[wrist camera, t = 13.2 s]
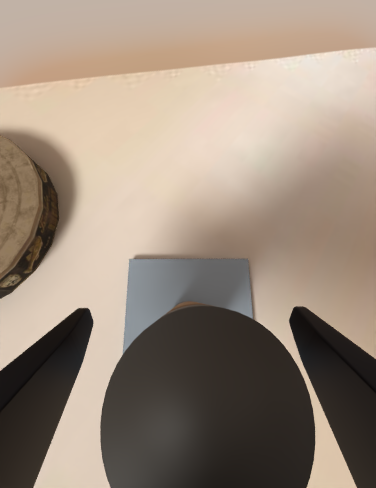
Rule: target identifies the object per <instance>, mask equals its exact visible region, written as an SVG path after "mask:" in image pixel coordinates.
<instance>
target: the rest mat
mask: <svg viewBox="0 0 376 488" xmlns="http://www.w3.org/2000/svg"><path fill="white" fill-rule="evenodd" d="M186 301H193V302H198V303H202V304H207V305H212V306H217V307H221V308H226V309H229V310H233V311H236V312H239V313H241V314H243V315H246V316H248V317H250V318H252V319H253V313H252V301H251V289H250V276H249V264H248V259H129V272H128V287H127V301H126V316H125V331H124V345H123V354H124V352H125V351H126V349H127V348H128V347H129V346H130V344H131V343H132V342H133V341H134V339H135V338H137V337H138V336H139V335H140V334H141V333H142V332H143V331H144V330H145V329H146V328H148V327H149V326H150V325H151V324H153V323H154V322H155V321H157V320H158V319H159V318H161V317H162V316H163V315H165V314H166V313H167V312H169V311H170V310H171V309H172V308H174V307H175V306H176V305H178V304H180V303H182V302H186Z"/></svg>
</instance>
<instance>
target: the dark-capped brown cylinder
mask: <svg viewBox="0 0 376 488" xmlns="http://www.w3.org/2000/svg"><path fill="white" fill-rule="evenodd" d="M101 450H102V458H103V463H104V467H105V472H106V476H107V479H108V482H109V484H110V487H111V488H306V487H307V484H308V482H309V479H310V475H311V470H312V465H313V461H314V451H315V423H314V414H313V408H312V404H311V400H310V395H309V392H308V389H307V386H306V384H305V381H304V378H303V376H302V374H301V372H300V370H299V368H298V366H297V364H296V363H295V361H294V359H293V358H292V356H291V354H290V353H289V352H288V350H287V349H286V348H285V347H284V345H283V344H282V343H281V342H280V341H279V340H278V339H277V338H276V337H275V336H274V335H273V334H272V333H271V332H270V331H269V330H268V329H266V328H265V327H264V326H263V325H261V324H260V323H258V322H257V321H255V320H253V319H252V318H250V317H248V316H246V315H243V314H241V313H239V312H236V311H233V310H229V309H226V308H221V307H217V306H212V305H207V304H202V303H198V302H193V301H186V302H182V303H180V304H178V305H176V306H175V307H174V308H172V309H171V310H170V311H169V312H167V313H166V314H165V315H163V316H162V317H161V318H159V319H158V320H157V321H155V322H154V323H153V324H151V325H150V326H149V327H148V328H146V329H145V330H144V331H143V332H142V333H141V334H140V335H139V336H138V337H137V338H135V339H134V341H133V342H132V343H131V344H130V346H129V347H128V348H127V349H126V351H125V352H124V354H123V355H122V357H121V359H120V360H119V362H118V363H117V365H116V368H115V370H114V372H113V374H112V376H111V379H110V381H109V384H108V387H107V390H106V394H105V398H104V403H103V407H102V416H101Z"/></svg>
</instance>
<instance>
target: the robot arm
mask: <svg viewBox="0 0 376 488" xmlns="http://www.w3.org/2000/svg"><path fill="white" fill-rule="evenodd" d="M289 323H290V327H291V330H292V333H293V336H294V339H295V342H296V345H297V348H298V352H299V355H300V357H301V360H302V362H303V365H304V367H305V370H306V372H307V374H308V376H309V379H310V381H311V383H312V386H313V388H314V390H315V392H316V395H317V397H318V399H319V402H320V404H321V406H322V408H323V411H324V413H325V415H326V418H327V420H328V422H329V424H330V427H331V429H332V431H333V434H334V436H335V438H336V441H337V443H338V445H339V447H340V450H341V452H342V454H343V457H344V459H345V461H346V463H347V466H348V468H349V470H350V473H351V475H352V477H353V479H354V482H355V484H356V486H357V488H376V359H375V358H373V357H372V356H371V355H369V354H368V353H367V352H365V351H364V350H363V349H361V348H360V347H358V346H357V345H356V344H354V343H353V342H352V341H350V340H349V339H348V338H346V337H345V336H344V335H342V334H341V333H340V332H338V331H337V330H336V329H334V328H333V327H331V326H330V325H329V324H327V323H326V322H325V321H323V320H322V319H321V318H319V317H318V316H317V315H315V314H314V313H313V312H311V311H310V310H309V309H307V308H306V307H303V306H296V307H294V308H293V311H292V313H291V316H290V319H289ZM92 327H93V319H92V316H91V313H90V310H89V309H88V308H78V309H77V310H75V311H74V312H73V313H72V314H70V315H69V316H68V317H67V318H65V319H64V320H63V321H62V322H61V323H59V324H58V325H57V326H56V327H54V328H53V329H52V330H51V331H49V332H48V333H47V334H46V335H44V336H43V337H42V338H41V339H39V340H38V341H37V342H36V343H34V344H33V345H32V346H31V347H29V348H28V349H27V350H26V351H24V352H23V353H22V354H21V355H19V356H18V357H17V358H16V359H14V360H13V361H12V362H11V363H10V364H8V365H7V366H6V367H5V368H3V369H2V370H1V371H0V488H33V487H34V484H35V482H36V479H37V477H38V474H39V472H40V469H41V467H42V464H43V461H44V459H45V456H46V454H47V451H48V449H49V446H50V444H51V441H52V439H53V436H54V434H55V431H56V428H57V426H58V423H59V421H60V418H61V416H62V413H63V411H64V408H65V406H66V403H67V401H68V398H69V396H70V393H71V390H72V388H73V385H74V383H75V380H76V378H77V375H78V373H79V370H80V368H81V365H82V362H83V359H84V356H85V352H86V349H87V345H88V342H89V338H90V335H91V331H92Z"/></svg>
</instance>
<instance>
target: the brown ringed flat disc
mask: <svg viewBox="0 0 376 488" xmlns="http://www.w3.org/2000/svg"><path fill="white" fill-rule="evenodd" d="M58 220H59V211H58V195H57V193H56V190H55V188H54V186H53V184H52V182H51V180H50V178H49V176H48V174H47V173H46V172H45V171H44V170H43V169H41V168H40V167H39V166H38V165H37V164H36V163H35V162H34V161H33V160H32V159H31V158H30V157H28V156H27V155H26V154H25V153H24V152H23V151H22V150H21V149H20V148H19V147H17V146H16V145H15V144H14V143H13V142H12V141H11V140H10V139H7V138H5V137H2V136H0V299H1V298H3V297H4V296H6V295H8V294H10V293H12V292H13V291H14V290H15V289H16V288H17V287H18V286H19V285H20V284H21V283H22V282H24V281H25V280H26V279H27V278H28V277H29V276H30V275H31V274H32V273H33V272H34V271H35V270H36V269H37V267H38V266H39V264H40V263H41V261H42V259H43V258H44V256H45V255H46V253H47V252H48V250H49V248H50V247H51V245H52V242H53V238H54V235H55V231H56V228H57V224H58Z"/></svg>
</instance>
